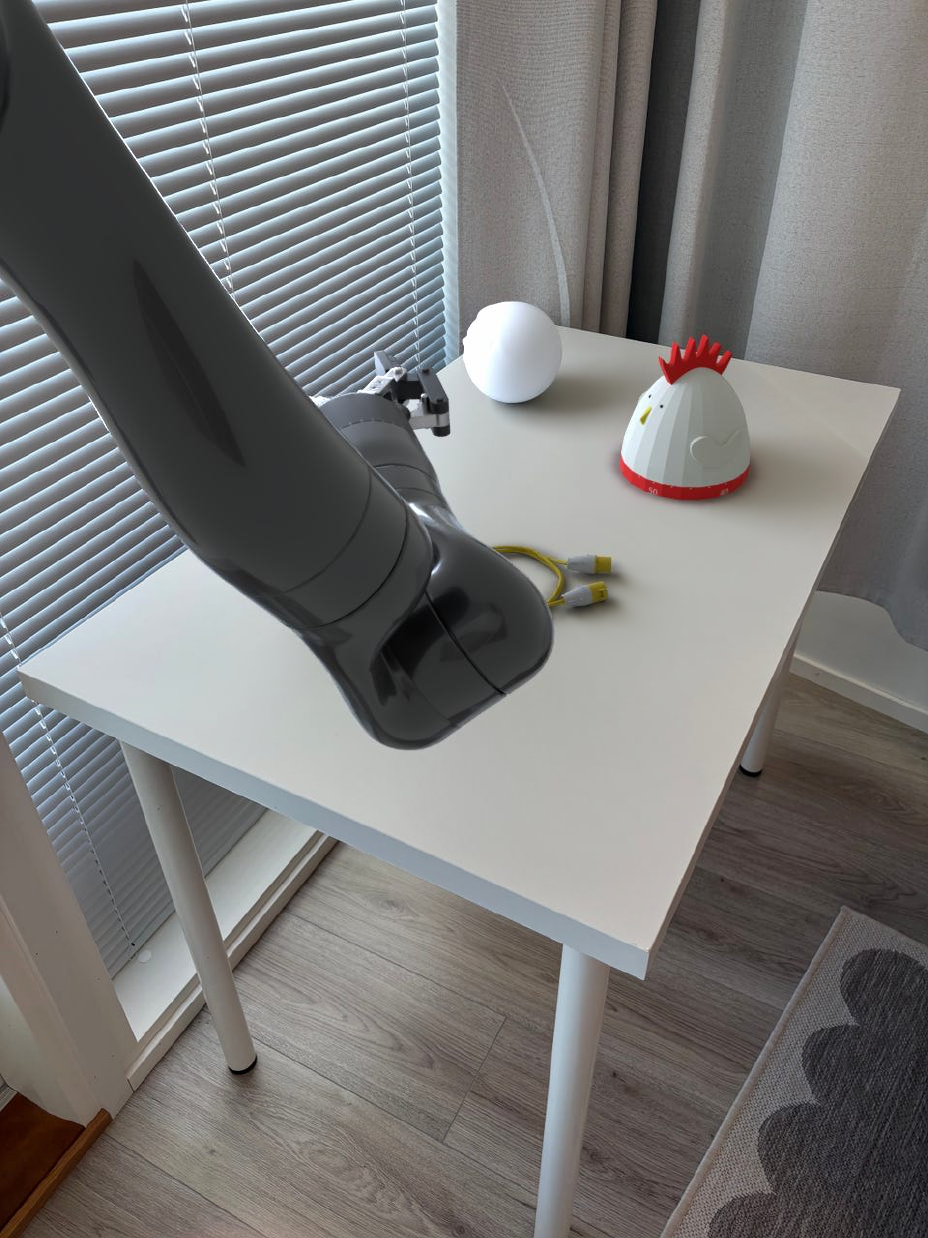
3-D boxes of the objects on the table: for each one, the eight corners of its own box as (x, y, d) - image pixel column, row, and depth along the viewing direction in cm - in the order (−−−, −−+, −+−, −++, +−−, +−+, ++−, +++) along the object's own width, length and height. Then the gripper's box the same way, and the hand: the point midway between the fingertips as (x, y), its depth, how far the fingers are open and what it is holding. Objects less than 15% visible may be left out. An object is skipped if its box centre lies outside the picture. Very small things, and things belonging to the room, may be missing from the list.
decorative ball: (475, 374, 126) (472, 284, 118) (566, 379, 123) (568, 288, 116) (457, 417, 117) (452, 322, 109) (554, 422, 114) (556, 326, 107)
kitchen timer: (599, 451, 109) (606, 323, 99) (705, 427, 112) (722, 302, 102) (658, 512, 98) (672, 377, 89) (773, 484, 102) (798, 351, 92)
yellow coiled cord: (580, 650, 82) (581, 633, 81) (420, 606, 88) (418, 589, 87) (625, 573, 90) (627, 556, 89) (476, 537, 96) (475, 520, 95)
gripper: (480, 403, 56) (412, 307, 68) (239, 445, 53) (213, 337, 66) (484, 510, 61) (420, 402, 73) (262, 554, 58) (234, 435, 70)
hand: (322, 372), depth 69 cm, fingers open, 8 cm apart
